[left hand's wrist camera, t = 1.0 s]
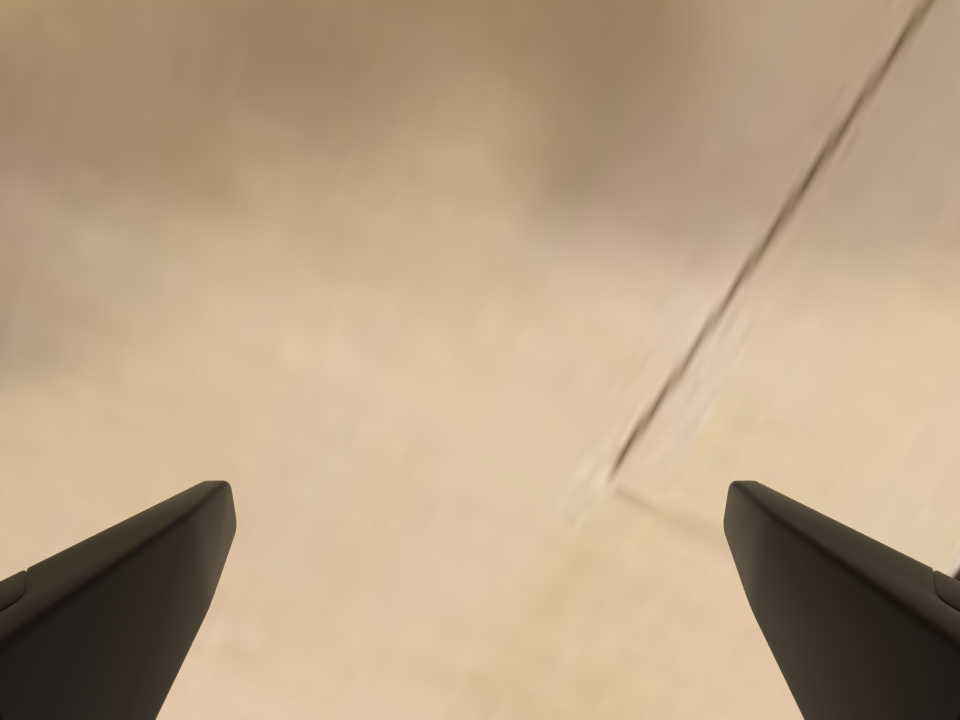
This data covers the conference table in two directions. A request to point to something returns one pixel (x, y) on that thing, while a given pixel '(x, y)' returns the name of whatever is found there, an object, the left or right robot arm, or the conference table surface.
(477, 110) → the conference table surface
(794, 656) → the left robot arm
